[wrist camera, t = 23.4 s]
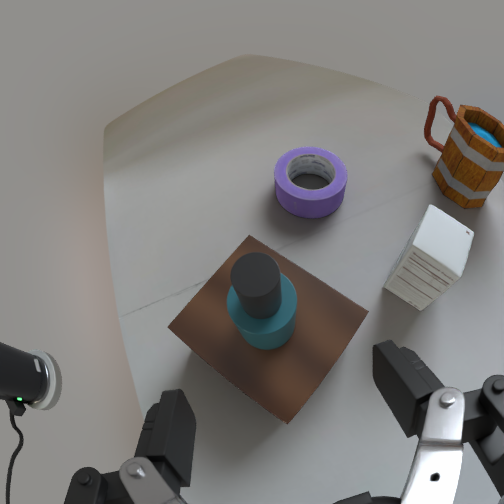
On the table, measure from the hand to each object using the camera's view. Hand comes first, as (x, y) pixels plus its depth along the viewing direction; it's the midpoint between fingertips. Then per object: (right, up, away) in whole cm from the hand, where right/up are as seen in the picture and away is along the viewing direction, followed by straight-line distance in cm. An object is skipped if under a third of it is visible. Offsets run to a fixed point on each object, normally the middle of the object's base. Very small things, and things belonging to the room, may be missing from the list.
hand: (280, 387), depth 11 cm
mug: (+39, +22, +38) cm, 59 cm away
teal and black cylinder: (0, -2, +18) cm, 18 cm away
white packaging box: (+23, +1, +29) cm, 37 cm away
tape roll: (+9, +16, +39) cm, 43 cm away
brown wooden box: (+1, -6, +27) cm, 28 cm away
